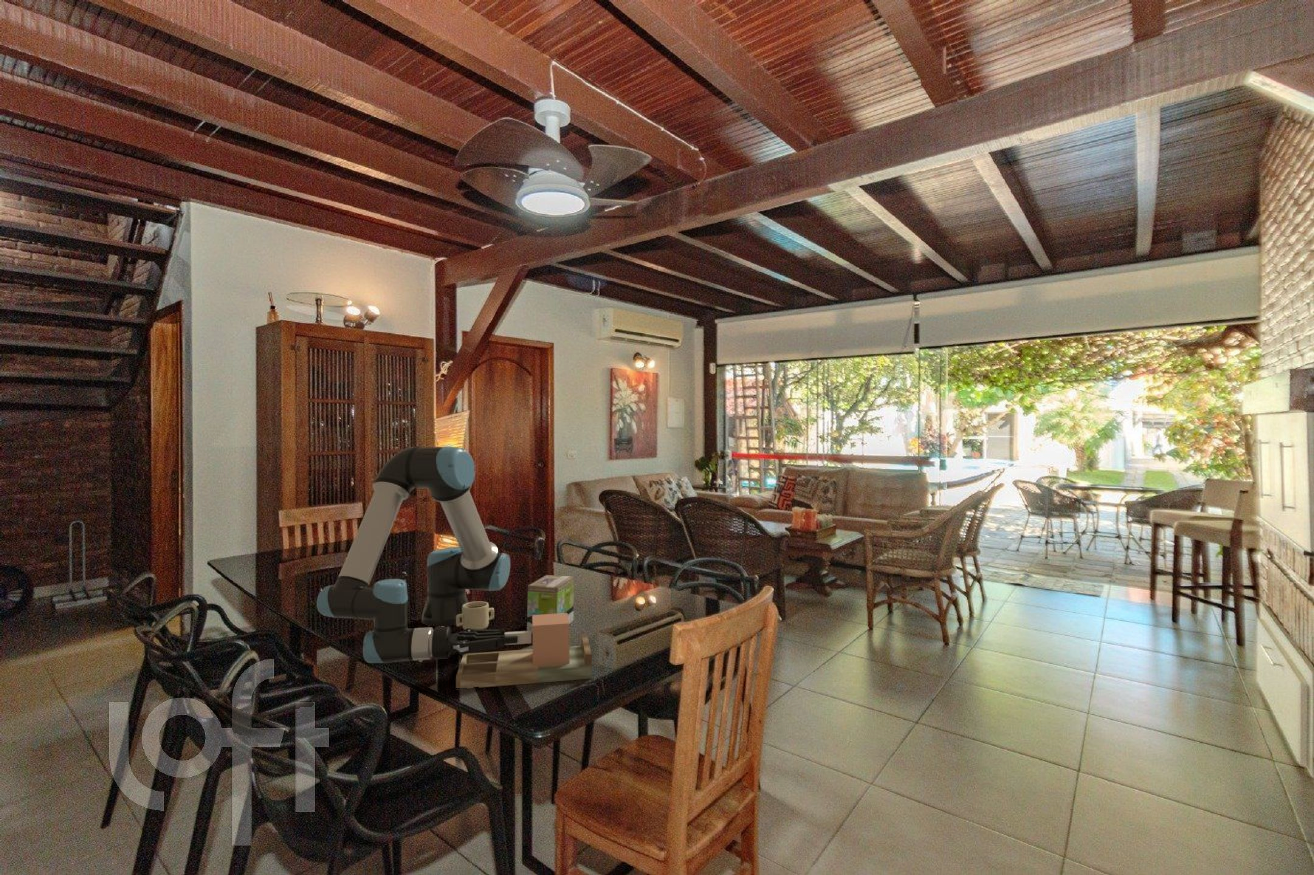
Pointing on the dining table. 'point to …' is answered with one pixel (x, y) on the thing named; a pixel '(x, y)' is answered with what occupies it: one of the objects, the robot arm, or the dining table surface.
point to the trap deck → (521, 668)
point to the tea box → (550, 597)
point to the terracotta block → (550, 639)
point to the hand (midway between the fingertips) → (531, 636)
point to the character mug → (475, 615)
